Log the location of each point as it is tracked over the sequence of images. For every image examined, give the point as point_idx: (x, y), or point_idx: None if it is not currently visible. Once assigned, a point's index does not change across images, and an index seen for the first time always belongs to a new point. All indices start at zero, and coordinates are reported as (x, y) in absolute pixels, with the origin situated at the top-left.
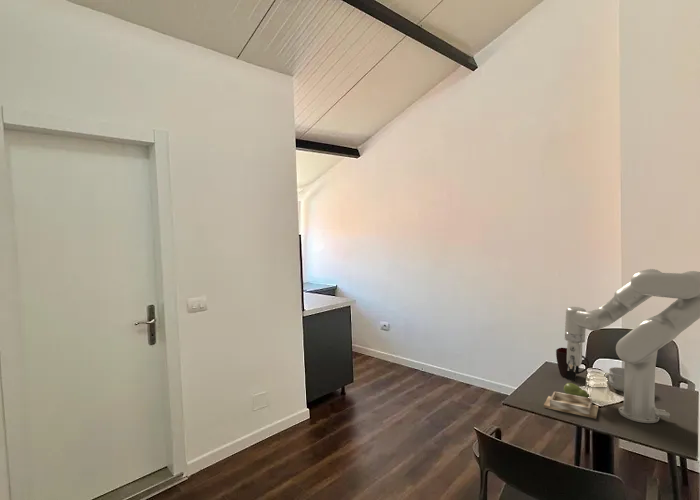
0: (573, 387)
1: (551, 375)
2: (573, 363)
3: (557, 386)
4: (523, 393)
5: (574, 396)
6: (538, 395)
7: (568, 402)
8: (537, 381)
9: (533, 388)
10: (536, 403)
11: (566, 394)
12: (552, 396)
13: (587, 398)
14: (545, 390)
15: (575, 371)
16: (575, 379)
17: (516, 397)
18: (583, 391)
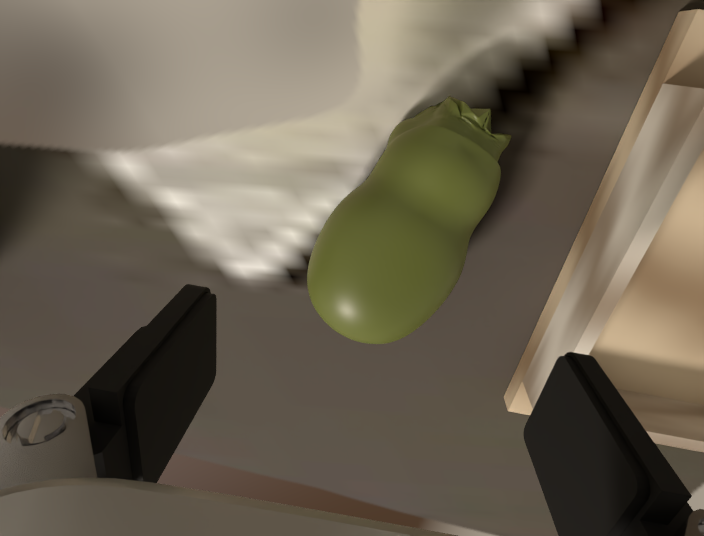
0: (437, 283)
1: (3, 347)
2: (123, 476)
3: (217, 326)
4: (454, 502)
5: (627, 273)
6: (462, 441)
7: (627, 295)
8: (193, 429)
9: (341, 455)
10: None
11: (596, 340)
12: (673, 440)
13: (699, 147)
14: (346, 400)
15: (666, 501)
16: (602, 370)
17: (534, 532)
18: (476, 177)
